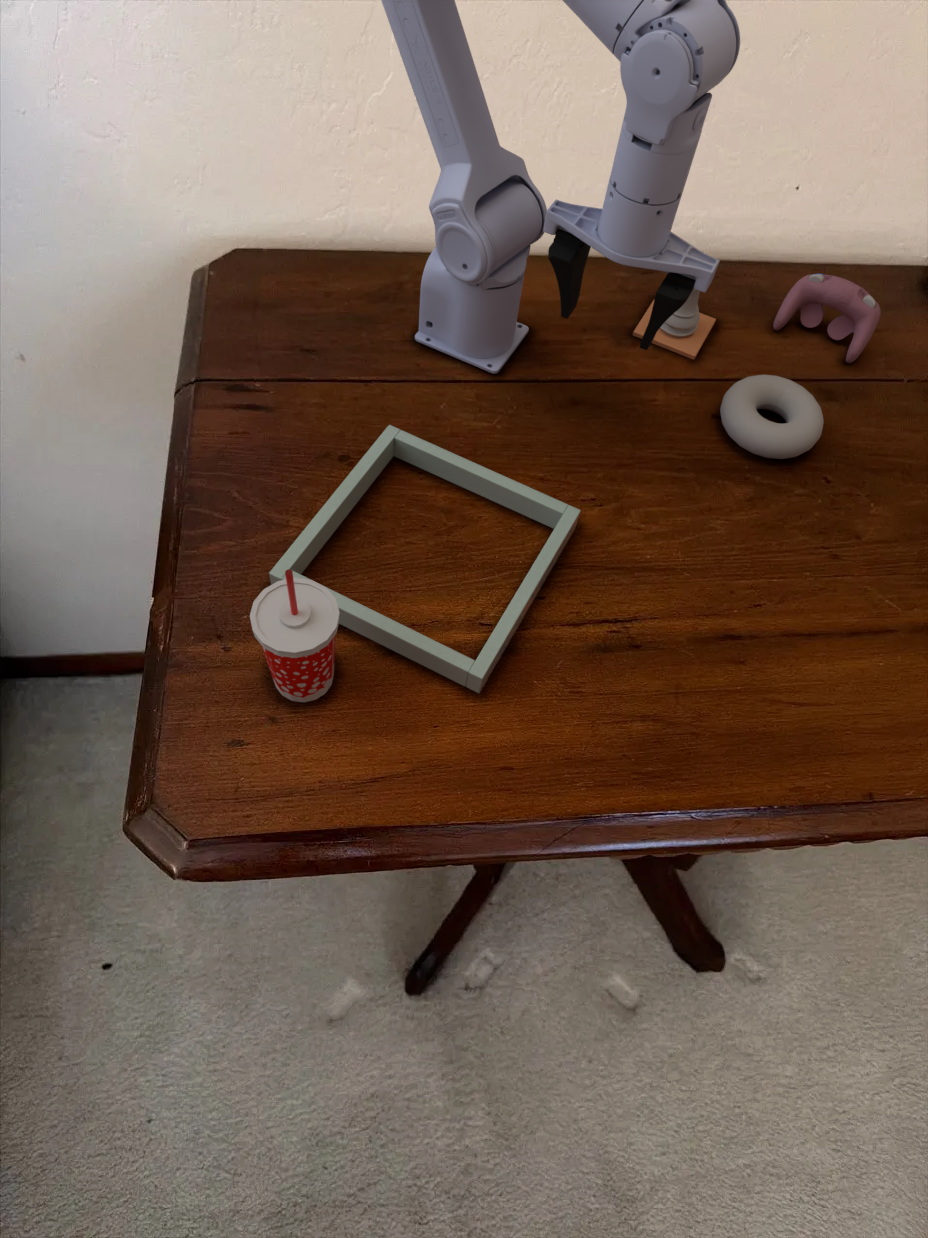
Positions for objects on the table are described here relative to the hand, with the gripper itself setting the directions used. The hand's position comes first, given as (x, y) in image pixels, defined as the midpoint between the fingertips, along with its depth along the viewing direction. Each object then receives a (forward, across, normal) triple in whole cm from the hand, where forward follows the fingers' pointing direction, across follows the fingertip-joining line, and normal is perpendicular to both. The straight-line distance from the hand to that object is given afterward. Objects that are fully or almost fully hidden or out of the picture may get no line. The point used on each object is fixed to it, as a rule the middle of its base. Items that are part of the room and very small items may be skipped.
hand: (607, 326), depth 79 cm
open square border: (+9, +5, +24) cm, 26 cm away
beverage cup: (+10, +8, +39) cm, 41 cm away
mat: (+9, -4, -16) cm, 19 cm away
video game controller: (+10, -18, -23) cm, 31 cm away
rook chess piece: (+9, -4, -16) cm, 18 cm away
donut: (+10, -17, -6) cm, 20 cm away
